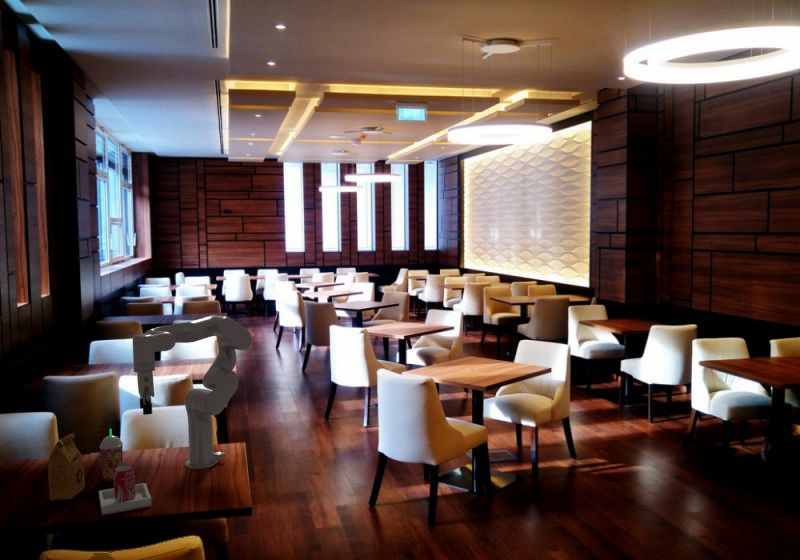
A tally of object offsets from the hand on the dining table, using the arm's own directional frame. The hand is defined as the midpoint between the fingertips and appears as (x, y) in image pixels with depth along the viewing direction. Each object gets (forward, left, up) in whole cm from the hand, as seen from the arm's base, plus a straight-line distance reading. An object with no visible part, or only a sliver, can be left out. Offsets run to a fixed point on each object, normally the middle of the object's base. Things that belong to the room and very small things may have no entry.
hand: (146, 411), depth 261 cm
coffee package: (+28, -2, -28) cm, 40 cm away
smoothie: (+12, -12, -28) cm, 33 cm away
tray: (+10, +15, -28) cm, 34 cm away
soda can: (+10, +15, -28) cm, 33 cm away
